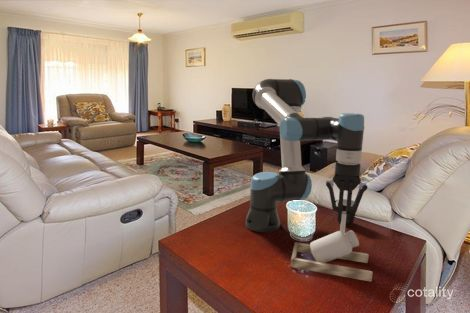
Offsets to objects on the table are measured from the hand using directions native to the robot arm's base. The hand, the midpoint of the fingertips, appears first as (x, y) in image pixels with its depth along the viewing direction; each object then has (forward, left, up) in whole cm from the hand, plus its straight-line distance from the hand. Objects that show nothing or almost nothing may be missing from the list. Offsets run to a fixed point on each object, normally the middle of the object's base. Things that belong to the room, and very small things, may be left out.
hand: (342, 230), depth 104 cm
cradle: (-3, 0, -13) cm, 14 cm away
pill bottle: (-8, +1, -10) cm, 13 cm away
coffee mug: (+3, +39, -14) cm, 42 cm away
